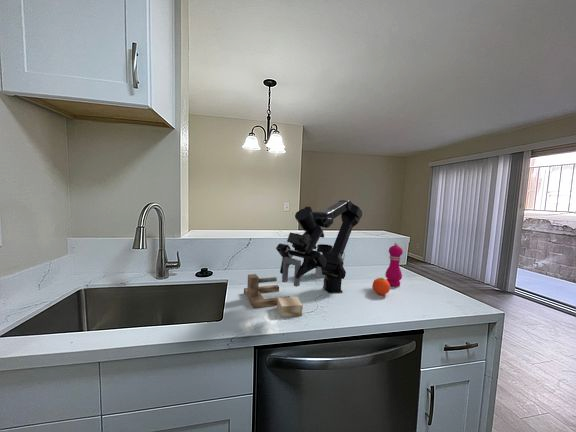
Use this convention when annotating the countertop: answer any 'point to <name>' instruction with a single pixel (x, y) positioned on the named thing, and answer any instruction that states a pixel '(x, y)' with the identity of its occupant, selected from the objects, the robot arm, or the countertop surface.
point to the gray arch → (285, 269)
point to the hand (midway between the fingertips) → (288, 275)
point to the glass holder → (323, 249)
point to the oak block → (289, 306)
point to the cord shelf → (260, 291)
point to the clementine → (381, 286)
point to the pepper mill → (394, 266)
